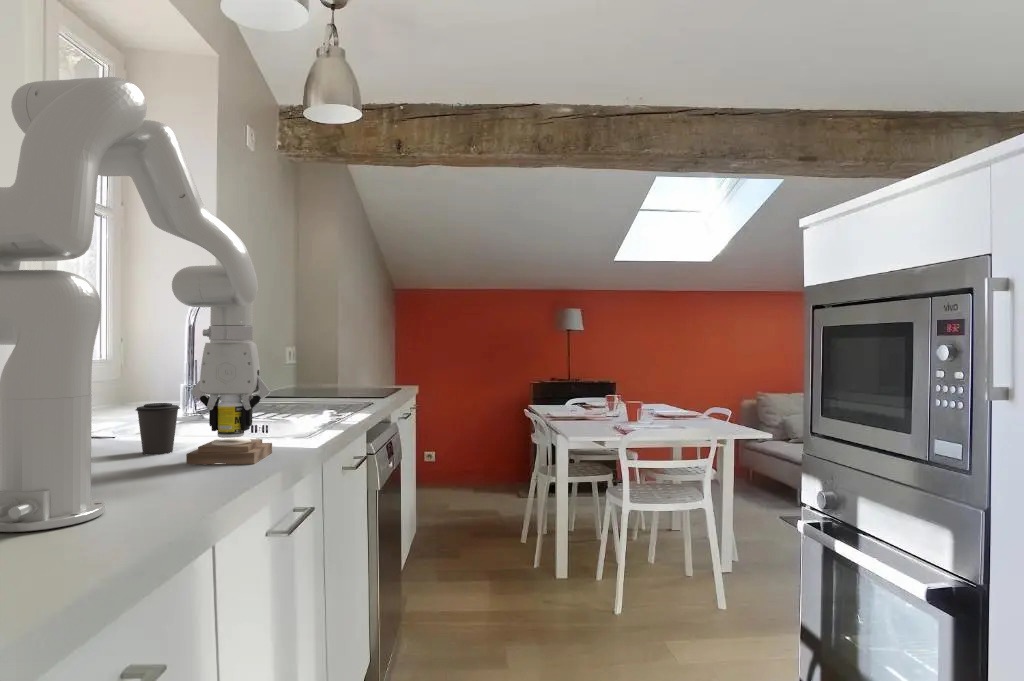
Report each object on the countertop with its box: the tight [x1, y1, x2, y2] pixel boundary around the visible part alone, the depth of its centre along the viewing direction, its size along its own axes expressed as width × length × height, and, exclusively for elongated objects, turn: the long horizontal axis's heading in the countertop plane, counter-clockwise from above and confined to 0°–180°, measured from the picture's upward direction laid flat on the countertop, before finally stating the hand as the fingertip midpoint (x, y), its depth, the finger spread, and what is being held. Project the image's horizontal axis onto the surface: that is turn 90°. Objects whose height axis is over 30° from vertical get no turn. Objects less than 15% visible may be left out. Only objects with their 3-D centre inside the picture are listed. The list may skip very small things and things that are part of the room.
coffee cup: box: [135, 402, 181, 455], centre depth 132 cm, size 8×8×10 cm
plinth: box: [185, 438, 273, 465], centre depth 125 cm, size 12×12×3 cm
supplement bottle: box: [217, 395, 245, 439], centre depth 125 cm, size 5×5×8 cm
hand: (230, 429), depth 125 cm, fingers closed on supplement bottle, 4 cm apart
